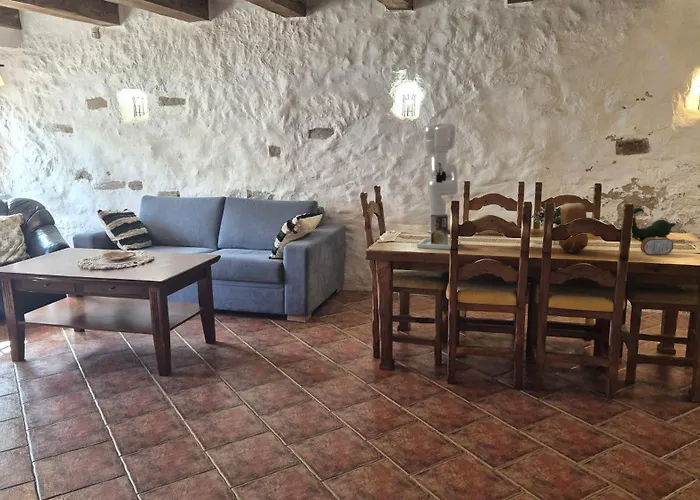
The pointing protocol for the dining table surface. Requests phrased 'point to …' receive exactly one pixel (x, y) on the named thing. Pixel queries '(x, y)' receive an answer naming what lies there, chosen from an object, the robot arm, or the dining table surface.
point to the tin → (657, 245)
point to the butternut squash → (568, 215)
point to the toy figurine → (651, 228)
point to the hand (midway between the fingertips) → (441, 181)
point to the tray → (427, 244)
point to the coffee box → (439, 229)
